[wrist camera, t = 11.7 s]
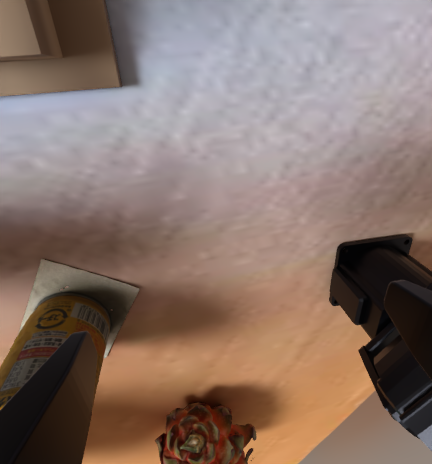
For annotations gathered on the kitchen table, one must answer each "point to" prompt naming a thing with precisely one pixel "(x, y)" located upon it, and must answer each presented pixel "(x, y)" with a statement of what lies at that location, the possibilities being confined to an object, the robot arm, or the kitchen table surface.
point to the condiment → (64, 320)
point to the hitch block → (56, 47)
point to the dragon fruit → (204, 437)
